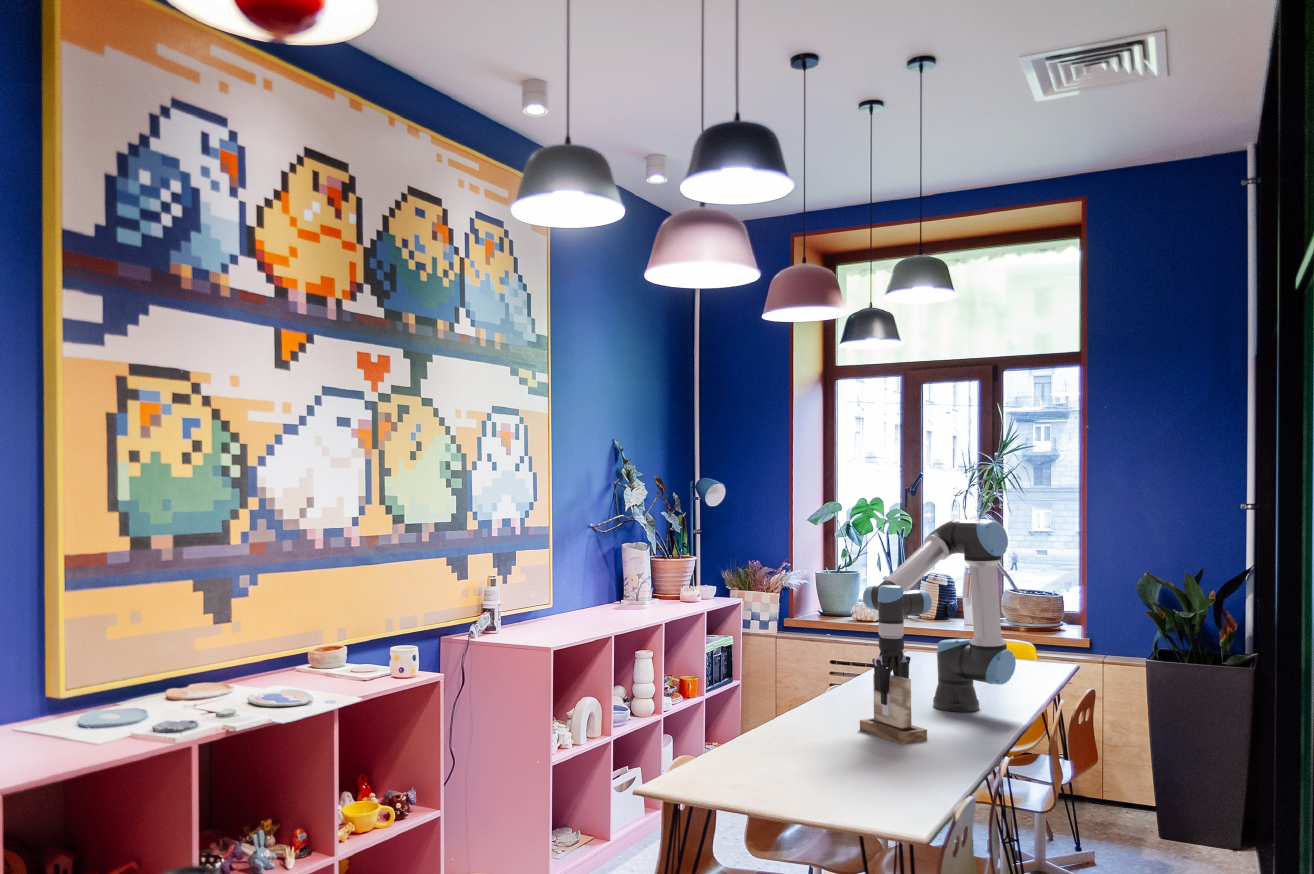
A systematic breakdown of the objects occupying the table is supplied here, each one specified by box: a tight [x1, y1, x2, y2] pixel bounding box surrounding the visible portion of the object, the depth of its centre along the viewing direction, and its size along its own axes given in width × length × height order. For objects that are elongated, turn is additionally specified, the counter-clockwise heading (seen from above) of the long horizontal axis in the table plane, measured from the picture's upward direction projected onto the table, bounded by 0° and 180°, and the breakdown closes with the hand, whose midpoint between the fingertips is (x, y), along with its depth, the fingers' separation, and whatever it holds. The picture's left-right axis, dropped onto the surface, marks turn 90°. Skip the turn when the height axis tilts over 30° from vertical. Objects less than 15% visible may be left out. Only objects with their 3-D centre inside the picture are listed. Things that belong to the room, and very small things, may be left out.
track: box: [859, 717, 928, 745], centre depth 277 cm, size 10×18×3 cm, turn 28°
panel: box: [872, 673, 912, 728], centre depth 278 cm, size 4×12×14 cm, turn 28°
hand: (892, 714), depth 277 cm, fingers closed on panel, 4 cm apart
